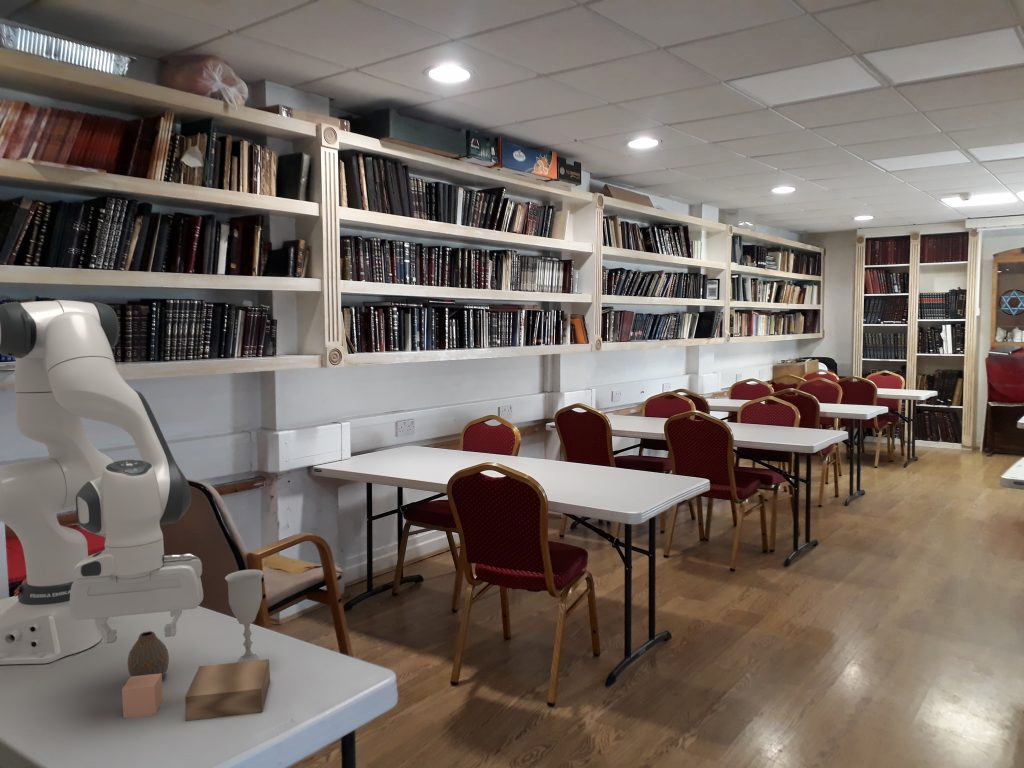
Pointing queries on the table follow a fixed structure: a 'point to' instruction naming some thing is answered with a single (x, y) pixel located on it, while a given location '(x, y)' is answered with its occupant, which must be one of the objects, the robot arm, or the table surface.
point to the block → (142, 695)
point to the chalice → (245, 603)
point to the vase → (148, 656)
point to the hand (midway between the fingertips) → (140, 638)
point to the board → (228, 689)
